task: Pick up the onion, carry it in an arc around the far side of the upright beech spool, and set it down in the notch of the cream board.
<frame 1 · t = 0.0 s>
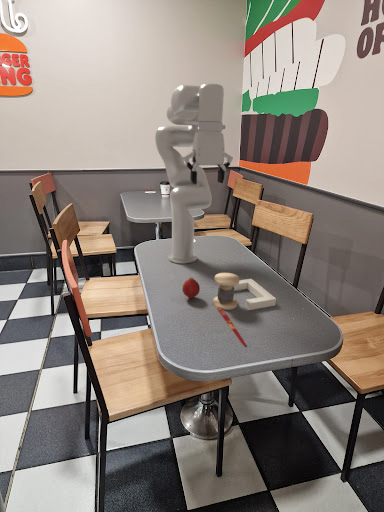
hand: (207, 182, 107), 37 cm above the table, tool pointing down, fingers open, 9 cm apart
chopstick: (229, 323, 95), on the table
onion: (190, 298, 108), on the table
notch board: (249, 296, 110), on the table
spool: (225, 303, 105), on the table
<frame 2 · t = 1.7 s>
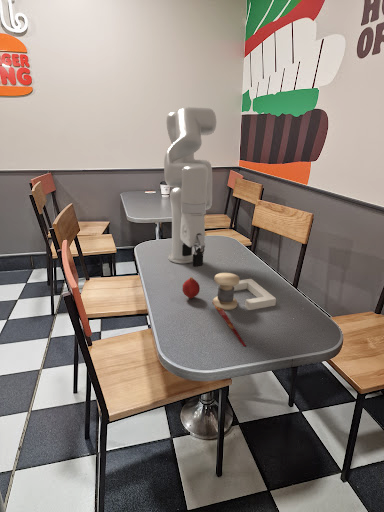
hand: (192, 260, 102), 14 cm above the table, tool pointing down, fingers open, 9 cm apart
nothing on the table moved.
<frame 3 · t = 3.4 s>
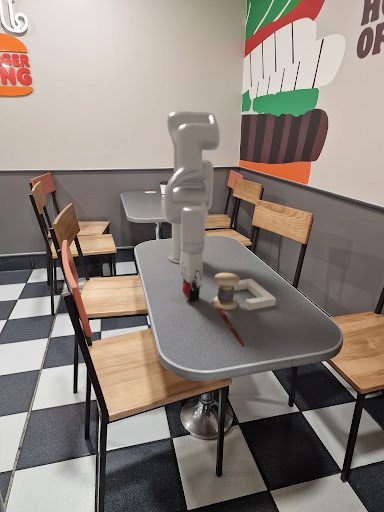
hand: (190, 295, 107), 1 cm above the table, tool pointing down, fingers closed on onion, 5 cm apart
onion: (190, 298, 108), on the table, touching gripper
everything else where it was.
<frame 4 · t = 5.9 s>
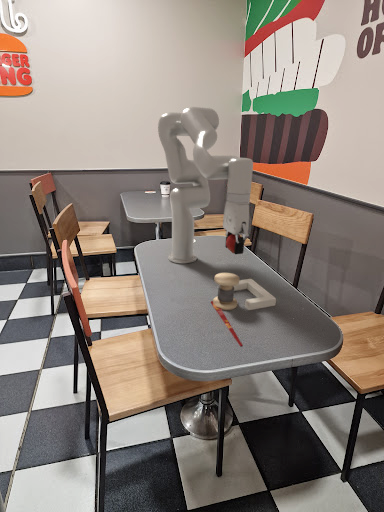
hand: (234, 249, 109), 15 cm above the table, tool pointing down, fingers closed on onion, 5 cm apart
onion: (233, 253, 109), point 14 cm above the table, touching gripper
everything else where it was.
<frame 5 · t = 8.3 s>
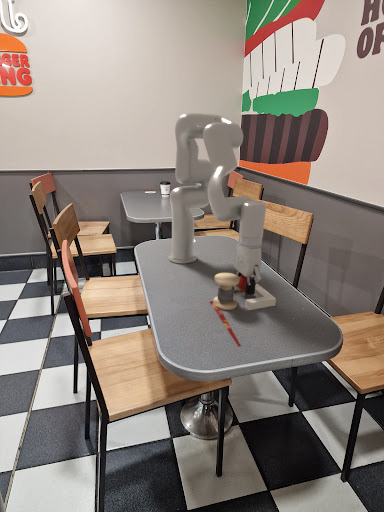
hand: (245, 289, 108), 3 cm above the table, tool pointing down, fingers closed on onion, 5 cm apart
onion: (244, 293, 109), point 2 cm above the table, touching gripper
when the fingers open (3 cm above the table, at t = 8.5 s): onion drops 2 cm, on the table.
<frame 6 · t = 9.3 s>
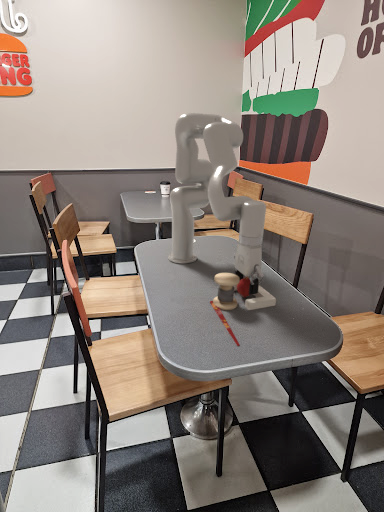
hand: (245, 287, 108), 4 cm above the table, tool pointing down, fingers open, 9 cm apart
onion: (244, 297, 110), on the table
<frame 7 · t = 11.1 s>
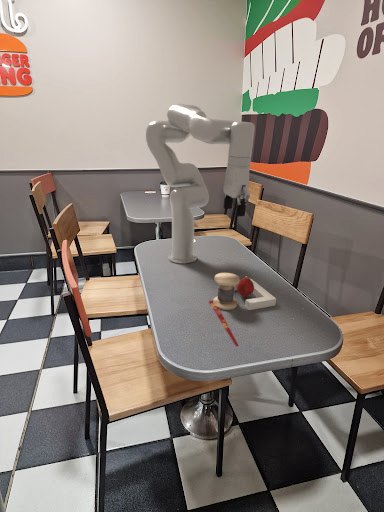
hand: (233, 212, 112), 27 cm above the table, tool pointing down, fingers open, 9 cm apart
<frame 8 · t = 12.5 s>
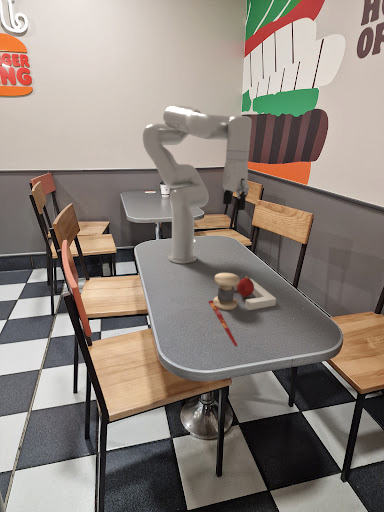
hand: (233, 206, 112), 28 cm above the table, tool pointing down, fingers open, 9 cm apart
at the end: onion inside the target area on the notch board (0.2 cm from its centre), point 0.0 cm above the notch board's base; the gripper is holding nothing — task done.
